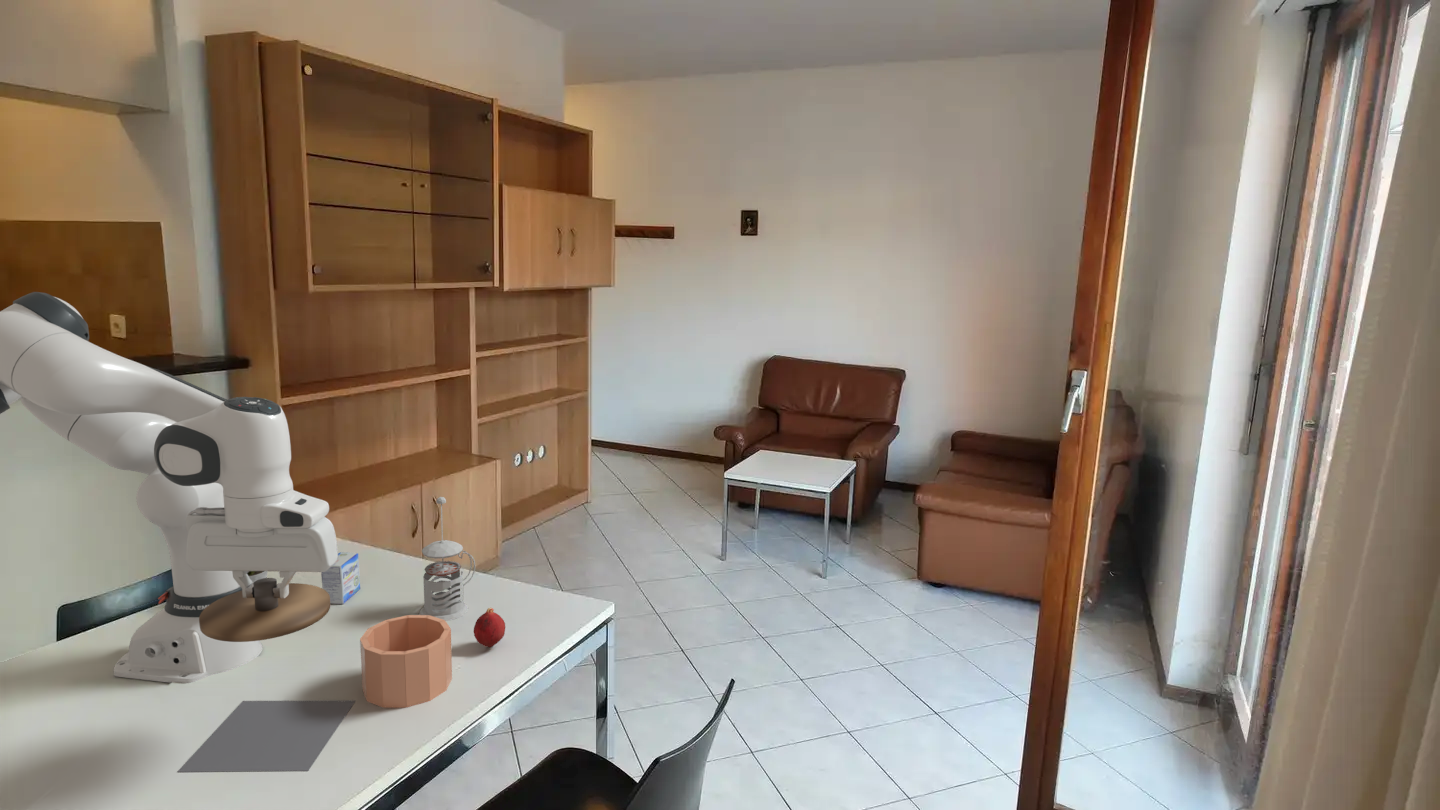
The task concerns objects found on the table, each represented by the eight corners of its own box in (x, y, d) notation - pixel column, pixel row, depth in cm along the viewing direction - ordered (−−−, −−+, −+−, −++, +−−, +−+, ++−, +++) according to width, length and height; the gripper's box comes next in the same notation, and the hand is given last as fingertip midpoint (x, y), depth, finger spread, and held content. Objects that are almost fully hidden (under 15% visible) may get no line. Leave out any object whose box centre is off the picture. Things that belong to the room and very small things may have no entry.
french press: (411, 608, 165) (407, 495, 160) (464, 594, 173) (462, 485, 168) (430, 626, 158) (426, 507, 153) (484, 610, 166) (482, 497, 161)
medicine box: (343, 605, 166) (341, 566, 164) (322, 604, 166) (320, 565, 164) (360, 589, 173) (359, 552, 172) (340, 588, 173) (338, 551, 172)
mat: (177, 775, 112) (177, 771, 112) (243, 703, 129) (242, 700, 129) (308, 773, 113) (308, 770, 113) (355, 703, 131) (355, 700, 131)
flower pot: (351, 710, 129) (348, 654, 127) (380, 665, 143) (378, 614, 141) (438, 709, 130) (436, 654, 128) (459, 666, 144) (458, 615, 142)
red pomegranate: (496, 656, 148) (495, 617, 146) (468, 652, 149) (467, 613, 147) (510, 642, 153) (510, 604, 152) (483, 638, 154) (482, 600, 153)
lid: (173, 641, 109) (170, 606, 108) (238, 589, 125) (235, 559, 124) (300, 642, 110) (298, 607, 109) (347, 590, 127) (346, 560, 126)
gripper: (172, 514, 111) (180, 605, 113) (322, 516, 112) (326, 606, 115) (198, 500, 117) (205, 586, 119) (339, 503, 118) (344, 588, 121)
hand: (266, 596), depth 117 cm, fingers closed on lid, 3 cm apart
